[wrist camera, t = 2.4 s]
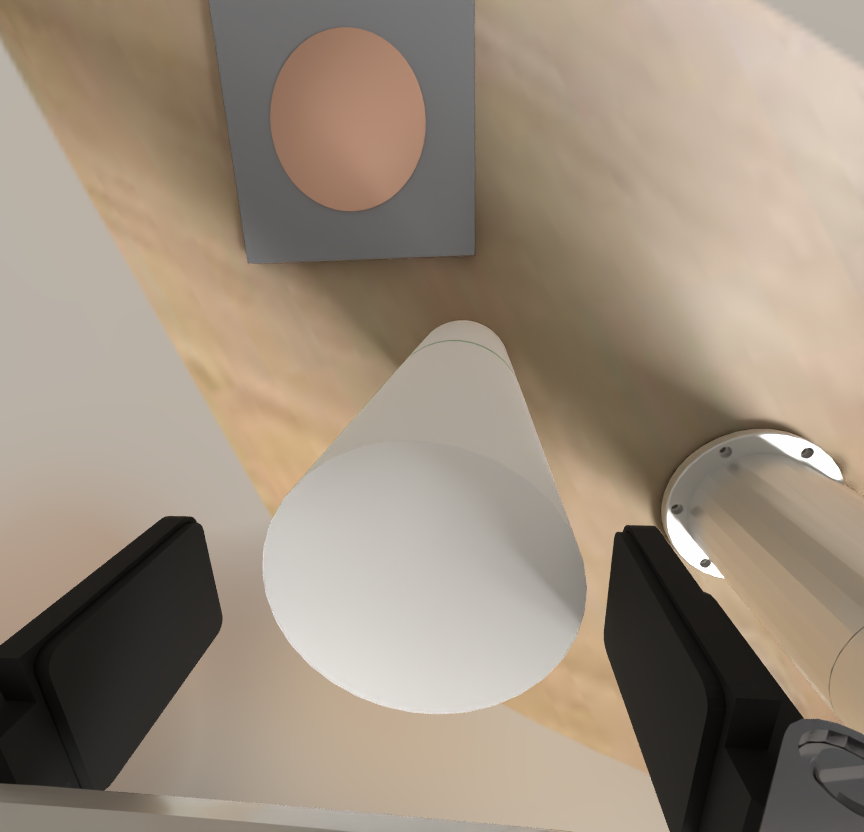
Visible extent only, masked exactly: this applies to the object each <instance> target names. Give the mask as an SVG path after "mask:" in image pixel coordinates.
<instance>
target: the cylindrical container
mask: <svg viewBox="0 0 864 832" xmlns="http://www.w3.org/2000/svg"><path fill="white" fill-rule="evenodd" d="M262 573H263V579H264V585H265V591H266V596H267V599H268V602H269V604H270V607H271V610H272V612H273V615H274V618H275V620H276V622H277V623H278V625H279V627H280V628H281V630H282V631H283V633H284V635H285V636H286V638H287V640H288V641H289V643H290V644H291V645H292V646H293V647H294V649H295V650H296V651H297V652H298V653H299V654H300V655H301V656H302V657H303V658H304V659H305V661H306V662H307V663H308V664H309V665H310V666H312V667H313V668H314V669H315V670H317V671H318V672H319V673H320V674H322V675H323V676H324V677H326V678H327V679H328V680H330V681H331V682H332V683H334V684H336V685H337V686H339V687H341V688H343V689H345V690H346V691H348V692H350V693H352V694H354V695H356V696H358V697H360V698H363V699H365V700H368V701H371V702H373V703H376V704H379V705H381V706H384V707H389V708H394V709H398V710H402V711H407V712H415V713H427V714H450V713H465V712H469V711H473V710H478V709H482V708H487V707H492V706H494V705H497V704H499V703H502V702H504V701H507V700H509V699H511V698H514V697H516V696H519V695H520V694H522V693H523V692H525V691H526V690H528V689H529V688H531V687H532V686H534V685H535V684H537V683H538V682H540V681H541V680H543V679H544V678H545V677H546V676H547V675H548V674H549V673H550V672H551V671H552V670H553V669H554V668H555V667H556V666H557V665H558V664H559V663H560V662H561V661H562V659H563V658H564V656H565V655H566V653H567V651H568V650H569V648H570V647H571V645H572V643H573V642H574V640H575V638H576V636H577V633H578V630H579V628H580V625H581V622H582V619H583V616H584V611H585V601H586V591H587V586H586V578H585V571H584V563H583V558H582V556H581V553H580V550H579V548H578V545H577V542H576V539H575V537H574V534H573V531H572V528H571V526H570V523H569V520H568V517H567V515H566V512H565V509H564V506H563V504H562V501H561V498H560V495H559V493H558V490H557V487H556V484H555V482H554V479H553V476H552V473H551V471H550V468H549V465H548V462H547V460H546V457H545V454H544V452H543V449H542V446H541V443H540V441H539V438H538V435H537V432H536V430H535V427H534V424H533V421H532V419H531V416H530V413H529V410H528V408H527V405H526V402H525V399H524V397H523V394H522V391H521V388H520V386H519V383H518V380H517V378H516V375H515V372H514V370H513V367H512V364H511V362H510V359H509V356H508V354H507V351H506V349H505V346H504V344H503V343H502V341H501V340H500V338H499V337H498V336H497V335H496V334H495V333H494V332H493V331H492V330H491V329H489V328H488V327H486V326H484V325H482V324H480V323H477V322H474V321H468V320H456V321H451V322H447V323H445V324H443V325H440V326H439V327H437V328H436V329H434V330H433V331H431V332H430V334H429V335H428V336H427V337H426V338H425V339H424V340H423V341H422V342H421V343H420V344H419V346H418V347H417V348H416V349H415V350H414V351H413V352H412V353H411V355H410V356H409V357H408V358H407V359H406V360H405V361H404V362H403V363H402V365H401V366H400V367H399V368H398V369H397V370H396V371H395V373H394V374H393V375H392V376H391V377H390V378H389V379H388V380H387V382H386V383H385V384H384V385H383V386H382V387H381V388H380V390H379V391H378V392H377V393H376V394H375V395H374V396H373V398H372V399H371V400H370V401H369V402H368V403H367V404H366V405H365V407H364V408H363V409H362V410H361V411H360V412H359V413H358V415H357V416H356V417H355V418H354V419H353V420H352V421H351V423H350V424H349V425H348V426H347V427H346V428H345V429H344V430H343V432H342V433H341V434H340V435H339V436H338V437H337V438H336V440H335V441H334V442H333V443H332V444H331V445H330V446H329V447H328V449H327V450H326V451H325V452H324V453H323V454H322V455H321V457H320V458H319V459H318V460H317V461H316V462H315V463H314V465H313V466H312V467H311V468H310V469H309V470H308V471H307V472H306V474H305V475H304V476H303V477H302V478H301V479H300V480H299V482H298V483H297V484H296V485H295V486H294V487H293V488H292V490H291V491H290V492H289V493H288V494H287V495H286V496H285V497H284V499H283V501H282V503H281V504H280V506H279V508H278V510H277V512H276V513H275V515H274V517H273V519H272V520H271V522H270V526H269V529H268V533H267V537H266V540H265V544H264V548H263V568H262Z"/></svg>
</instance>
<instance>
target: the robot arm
mask: <svg viewBox="0 0 864 832" xmlns="http://www.w3.org/2000/svg"><path fill="white" fill-rule="evenodd" d="M661 516H662V523H663V527H664V531H665V533H666V535H667V537H668V539H669V541H670V543H671V544H672V546H673V547H674V548H675V550H676V551H677V552H678V554H679V555H680V556H681V557H682V558H683V559H684V560H685V561H687V562H688V563H689V564H690V565H692V566H693V567H695V568H696V569H698V570H700V571H702V572H704V573H707V574H710V575H712V576H715V577H720V578H725V580H726V581H727V582H728V583H729V585H730V586H731V587H732V588H733V590H734V591H735V592H736V593H737V594H738V596H739V597H740V598H741V599H742V601H743V602H744V603H745V604H746V606H747V607H748V608H749V609H750V610H751V612H752V613H753V614H754V615H755V617H756V618H757V619H758V620H759V622H760V623H761V624H762V625H763V626H764V628H765V629H766V630H767V631H768V633H769V634H770V635H771V636H772V638H773V639H774V640H775V641H776V642H777V644H778V645H779V646H780V647H781V649H782V650H783V651H784V652H785V654H786V655H787V656H788V657H789V658H790V660H791V661H792V662H793V663H794V665H795V666H796V667H797V668H798V670H799V671H800V672H801V673H802V674H803V676H804V677H805V678H806V679H807V681H808V682H809V683H810V684H811V686H812V687H813V688H814V689H815V690H816V692H817V693H818V694H819V695H820V697H821V698H822V699H823V700H824V702H825V703H826V704H827V705H828V706H829V708H830V709H831V710H832V711H833V713H834V714H835V715H836V716H837V718H838V719H839V720H840V721H841V722H842V723H843V724H844V726H843V725H841V724H838V723H834V722H830V721H826V720H821V719H804V718H803V717H802V715H801V714H800V713H799V711H798V710H797V709H796V707H795V706H794V705H793V703H792V702H791V701H790V699H789V698H788V697H787V695H786V694H785V693H784V691H783V690H782V688H781V687H780V686H779V684H778V683H777V682H776V680H775V679H774V678H773V676H772V675H771V674H770V672H769V671H768V670H767V668H766V667H765V666H764V664H763V663H762V662H761V660H760V659H759V658H758V656H757V655H756V654H755V652H754V651H753V649H752V648H751V647H750V645H749V644H748V643H747V641H746V640H745V639H744V637H743V636H742V635H741V633H740V632H739V631H738V629H737V628H736V627H735V625H734V624H733V623H732V621H731V620H730V619H729V617H728V616H727V614H726V613H725V612H724V610H723V609H722V608H721V606H720V605H719V604H718V602H717V601H716V600H715V599H714V598H713V597H712V596H711V595H710V594H708V593H706V592H703V591H702V589H701V588H700V587H699V585H698V584H697V582H696V581H695V580H694V578H693V577H692V575H691V574H690V573H689V571H688V570H687V569H686V567H685V566H684V564H683V563H682V562H681V560H680V559H679V557H678V556H677V555H676V553H675V552H674V551H673V549H672V548H671V546H670V545H669V544H668V542H667V541H666V540H665V538H664V537H663V535H662V534H661V533H660V531H659V530H658V529H657V528H656V527H655V526H637V525H626V526H625V527H624V530H623V532H617V533H616V534H615V537H614V545H613V554H612V563H611V572H610V581H609V590H608V599H607V608H606V617H605V626H604V643H605V649H606V652H607V655H608V658H609V661H610V663H611V666H612V669H613V672H614V675H615V678H616V680H617V683H618V686H619V689H620V692H621V695H622V698H623V700H624V703H625V706H626V709H627V712H628V715H629V717H630V720H631V723H632V726H633V729H634V732H635V734H636V737H637V740H638V743H639V746H640V749H641V751H642V754H643V757H644V760H645V763H646V766H647V768H648V771H649V774H650V777H651V780H652V783H653V785H654V788H655V791H656V794H657V797H658V799H659V803H660V805H661V808H662V811H663V814H664V817H665V819H666V822H667V825H668V828H669V830H670V832H864V496H862V495H861V494H859V493H857V492H855V491H854V490H852V489H850V488H848V487H847V486H845V482H844V478H843V476H842V474H841V471H840V469H839V467H838V465H837V464H836V463H835V461H834V460H833V459H832V457H831V456H830V455H829V454H828V453H826V452H825V451H824V450H823V449H822V448H820V447H819V446H818V445H816V444H814V443H812V442H810V441H808V440H807V439H805V438H803V437H800V436H797V435H795V434H792V433H790V432H786V431H780V430H774V429H750V430H744V431H738V432H734V433H731V434H728V435H725V436H722V437H719V438H717V439H715V440H713V441H711V442H709V443H707V444H705V445H703V446H702V447H700V448H699V449H698V450H696V451H695V452H694V453H692V454H691V455H690V456H689V457H688V458H687V459H686V460H685V461H684V462H683V463H682V464H681V465H680V466H679V467H678V468H677V470H676V471H675V473H674V474H673V476H672V477H671V479H670V480H669V483H668V485H667V487H666V490H665V492H664V495H663V500H662V505H661ZM221 625H222V612H221V607H220V603H219V598H218V594H217V589H216V585H215V581H214V576H213V571H212V567H211V562H210V558H209V553H208V549H207V544H206V540H205V535H204V530H203V528H202V526H201V525H200V524H199V523H197V522H196V520H195V519H194V518H193V517H186V516H167V517H164V518H162V519H161V520H159V521H158V522H157V523H156V524H154V525H153V526H152V527H150V528H149V529H148V530H147V531H145V532H144V533H143V534H142V535H140V536H139V537H138V538H136V539H135V540H134V541H133V542H131V543H130V544H129V545H127V546H126V547H125V548H124V549H122V550H121V551H120V552H119V553H117V554H116V555H115V556H113V557H112V558H111V559H110V560H108V561H107V562H106V563H105V564H103V565H102V566H101V567H99V568H98V569H97V570H96V571H94V572H93V573H92V574H91V575H89V576H88V577H87V578H86V579H84V580H83V581H82V582H80V583H79V584H78V585H77V586H76V587H74V588H73V589H72V590H70V591H69V592H68V593H66V594H65V595H64V596H63V597H62V598H60V599H59V600H58V601H56V602H55V603H54V604H52V605H51V606H50V607H49V608H47V609H46V610H45V611H43V612H42V613H41V614H40V615H39V616H37V617H36V618H35V619H33V620H32V621H31V622H29V623H28V624H27V625H26V626H24V627H23V628H22V629H21V630H19V631H18V632H17V633H15V634H14V635H13V636H12V637H10V638H9V639H8V640H7V641H5V642H4V643H3V644H1V645H0V832H570V831H561V830H552V829H543V828H532V827H521V826H510V825H498V824H488V823H476V822H466V821H455V820H444V819H433V818H422V817H411V816H400V815H389V814H378V813H366V812H355V811H343V810H332V809H320V808H309V807H297V806H285V805H274V804H261V803H250V802H238V801H226V800H213V799H202V798H190V797H178V796H164V795H151V794H138V793H126V792H113V791H104V790H105V789H106V788H108V787H109V786H110V784H111V783H112V782H113V781H114V779H115V778H116V776H117V775H118V774H119V773H120V771H121V770H122V768H123V767H124V765H125V764H126V763H127V761H128V760H129V758H130V757H131V755H132V754H133V753H134V751H135V750H136V749H137V747H138V746H139V744H140V743H141V742H142V740H143V739H144V737H145V735H146V734H147V733H148V732H149V730H150V729H151V727H152V726H153V725H154V723H155V722H156V720H157V719H158V718H159V716H160V715H161V713H162V712H163V710H164V709H165V707H166V706H167V705H168V703H169V702H170V701H171V699H172V698H173V696H174V695H175V694H176V692H177V691H178V689H179V688H180V687H181V685H182V683H183V682H184V681H185V679H186V678H187V677H188V675H189V674H190V672H191V671H192V670H193V668H194V667H195V665H196V664H197V663H198V661H199V660H200V658H201V657H202V655H203V654H204V653H205V651H206V650H207V648H208V647H209V646H210V644H211V643H212V641H213V640H214V639H215V637H216V636H217V634H218V633H219V631H220V628H221Z"/></svg>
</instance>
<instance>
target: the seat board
mask: <svg viewBox="0 0 864 832" xmlns="http://www.w3.org/2000/svg"><path fill="white" fill-rule="evenodd" d="M209 6H210V13H211V19H212V26H213V33H214V40H215V46H216V53H217V60H218V66H219V73H220V80H221V86H222V93H223V100H224V107H225V113H226V120H227V127H228V133H229V140H230V147H231V153H232V160H233V167H234V174H235V180H236V187H237V194H238V200H239V207H240V214H241V220H242V227H243V234H244V241H245V247H246V254H247V261H248V263H252V264H269V263H295V262H321V261H347V260H374V259H400V258H426V257H452V256H475V94H474V0H209Z"/></svg>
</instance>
